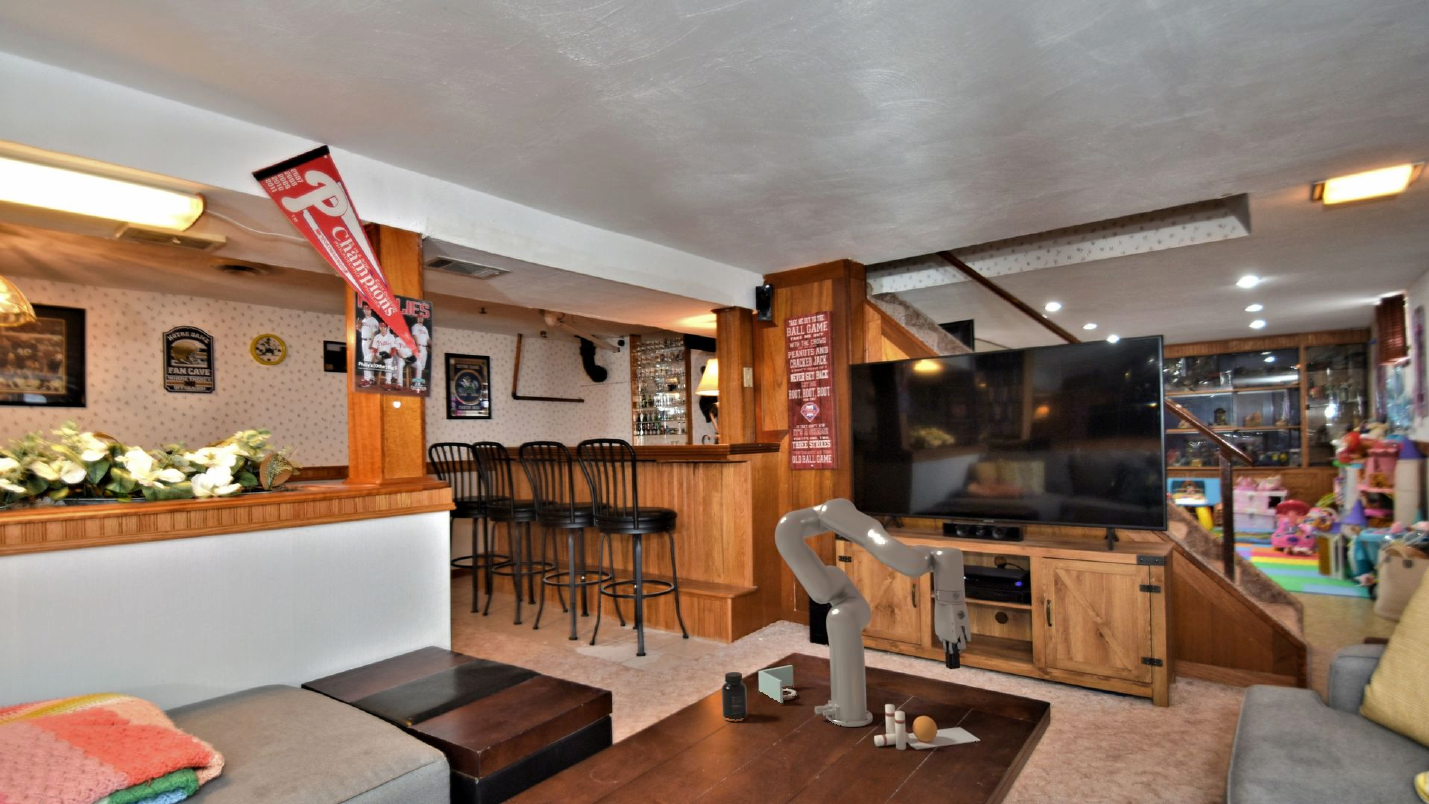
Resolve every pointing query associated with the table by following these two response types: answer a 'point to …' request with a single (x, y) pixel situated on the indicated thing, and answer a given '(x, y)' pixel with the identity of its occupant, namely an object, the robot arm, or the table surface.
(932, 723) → the ball
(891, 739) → the front pin
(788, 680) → the right angle wall
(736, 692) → the supplement bottle
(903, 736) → the back pin right
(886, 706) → the back pin left
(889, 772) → the table surface
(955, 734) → the lane mark
